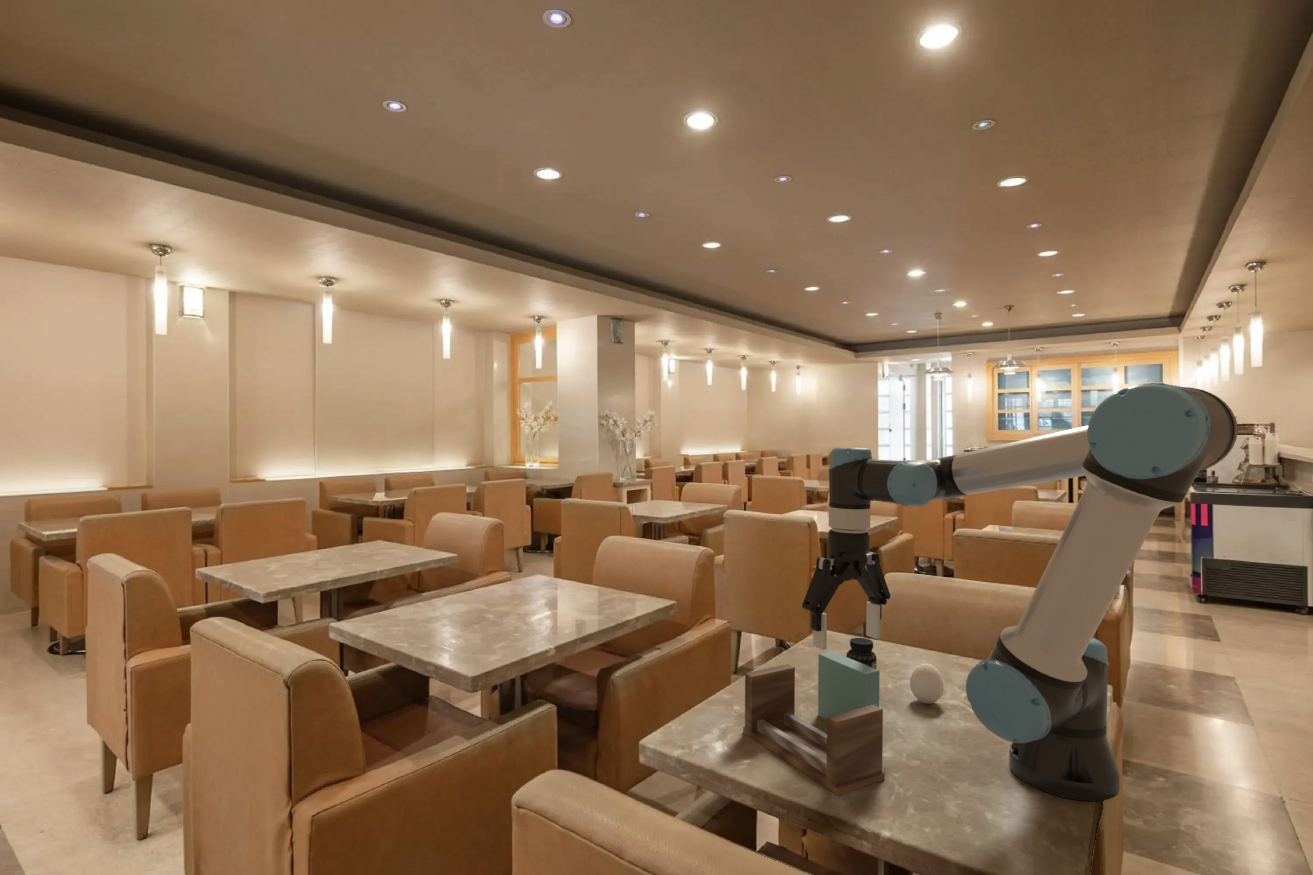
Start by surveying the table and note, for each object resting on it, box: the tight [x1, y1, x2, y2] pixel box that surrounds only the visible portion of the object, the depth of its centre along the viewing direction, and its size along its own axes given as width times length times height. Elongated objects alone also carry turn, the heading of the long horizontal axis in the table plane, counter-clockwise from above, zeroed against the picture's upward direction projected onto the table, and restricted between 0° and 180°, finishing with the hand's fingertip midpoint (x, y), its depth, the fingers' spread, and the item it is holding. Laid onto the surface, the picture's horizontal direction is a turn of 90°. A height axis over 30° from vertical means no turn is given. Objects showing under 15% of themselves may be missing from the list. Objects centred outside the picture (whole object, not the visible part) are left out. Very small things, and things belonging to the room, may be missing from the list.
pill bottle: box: [845, 637, 877, 669], centre depth 140 cm, size 6×6×11 cm
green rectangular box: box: [817, 650, 880, 721], centre depth 125 cm, size 12×4×12 cm, turn 29°
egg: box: [909, 662, 945, 705], centre depth 135 cm, size 6×6×8 cm
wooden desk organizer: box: [742, 663, 886, 796], centre depth 114 cm, size 24×10×11 cm, turn 29°
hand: (846, 642), depth 125 cm, fingers open, 13 cm apart
